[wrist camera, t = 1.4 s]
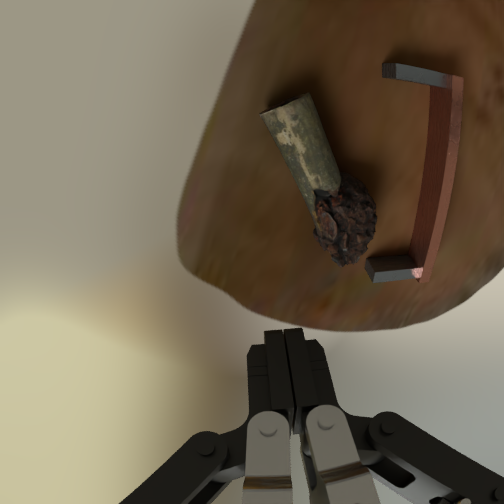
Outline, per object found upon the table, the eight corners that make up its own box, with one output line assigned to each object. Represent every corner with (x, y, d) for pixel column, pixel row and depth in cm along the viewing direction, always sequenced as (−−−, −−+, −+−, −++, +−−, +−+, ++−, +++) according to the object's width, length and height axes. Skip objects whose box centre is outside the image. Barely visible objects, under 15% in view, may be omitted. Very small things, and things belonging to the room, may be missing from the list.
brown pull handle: (441, 75, 24) (463, 77, 20) (414, 263, 36) (428, 281, 33) (382, 63, 24) (401, 63, 20) (364, 268, 36) (375, 288, 33)
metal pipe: (257, 110, 27) (261, 116, 22) (321, 84, 25) (340, 85, 20) (321, 254, 35) (334, 284, 30) (373, 232, 34) (393, 257, 29)
